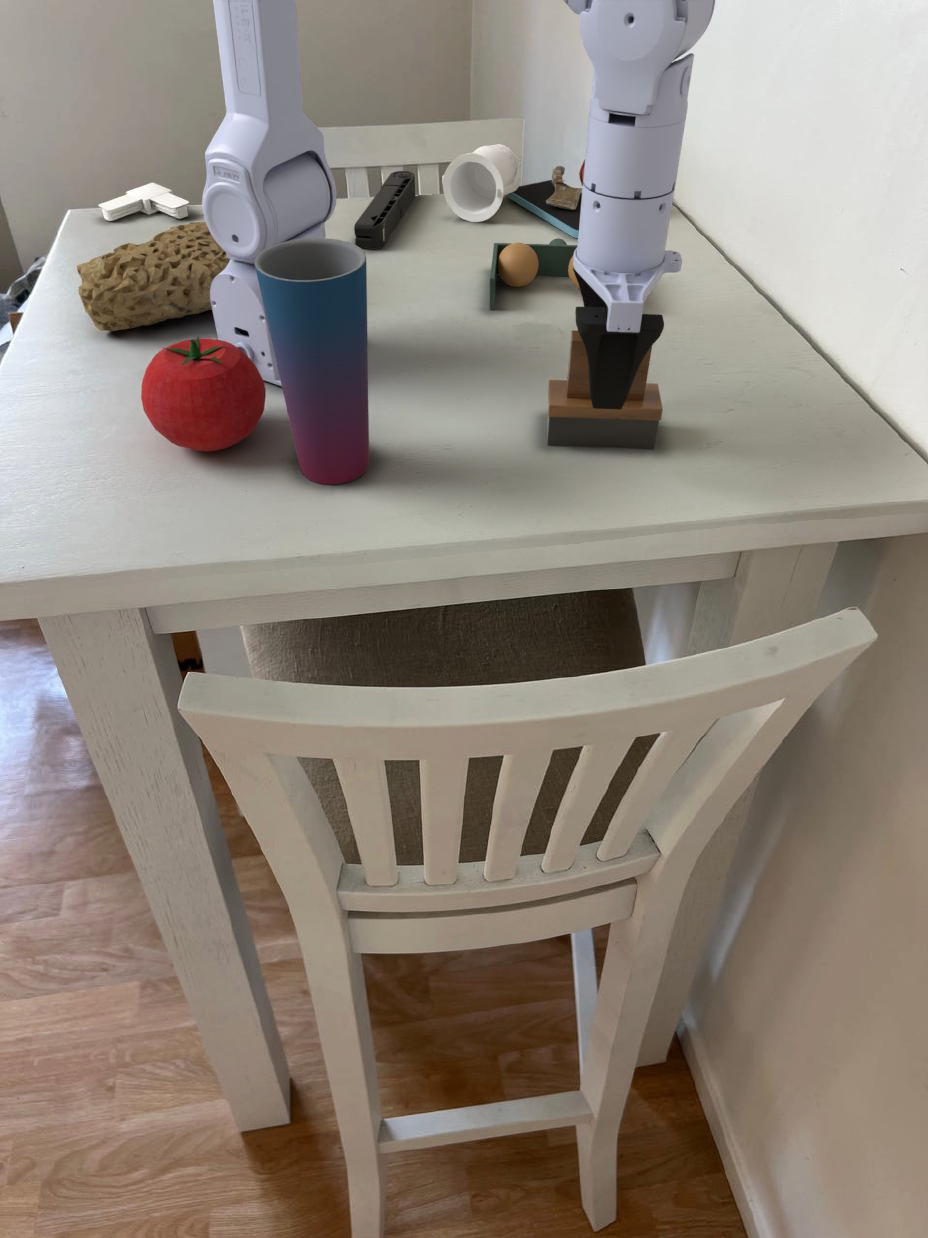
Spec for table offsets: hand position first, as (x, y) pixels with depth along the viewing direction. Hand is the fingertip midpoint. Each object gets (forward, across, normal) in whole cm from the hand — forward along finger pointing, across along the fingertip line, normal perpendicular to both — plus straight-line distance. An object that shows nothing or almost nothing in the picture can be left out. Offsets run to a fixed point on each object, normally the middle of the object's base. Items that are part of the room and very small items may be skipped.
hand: (604, 381), depth 65 cm
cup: (+5, -6, +19) cm, 21 cm away
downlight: (+1, +43, +12) cm, 45 cm away
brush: (+4, 0, 0) cm, 5 cm away
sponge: (+5, +21, +37) cm, 43 cm away
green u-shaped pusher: (+4, +27, +3) cm, 27 cm away
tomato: (+5, -3, +29) cm, 30 cm away
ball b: (+2, +27, +7) cm, 28 cm away
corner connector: (+3, +43, +49) cm, 65 cm away
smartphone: (+4, +41, -2) cm, 41 cm away
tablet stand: (+3, +44, +24) cm, 50 cm away
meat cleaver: (+3, +51, 0) cm, 51 cm away
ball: (+2, +26, 0) cm, 27 cm away
